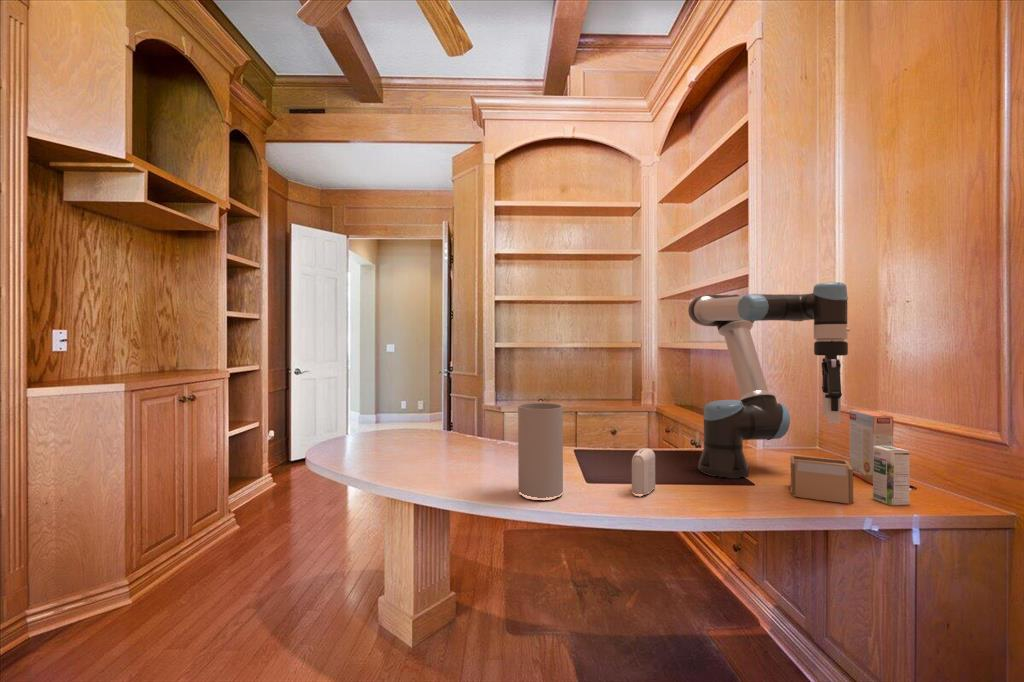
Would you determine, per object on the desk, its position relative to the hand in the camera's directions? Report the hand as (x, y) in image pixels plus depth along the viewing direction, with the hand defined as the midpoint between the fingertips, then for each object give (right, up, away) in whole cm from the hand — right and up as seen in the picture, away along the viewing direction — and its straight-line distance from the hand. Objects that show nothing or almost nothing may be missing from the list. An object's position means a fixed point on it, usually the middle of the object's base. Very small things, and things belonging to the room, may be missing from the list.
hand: (831, 420), depth 127 cm
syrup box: (+16, -22, 0) cm, 27 cm away
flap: (-2, -22, +1) cm, 22 cm away
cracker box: (+26, -22, +21) cm, 40 cm away
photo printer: (-48, -22, +9) cm, 53 cm away
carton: (+1, -22, +7) cm, 23 cm away
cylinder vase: (-77, -22, +7) cm, 81 cm away
